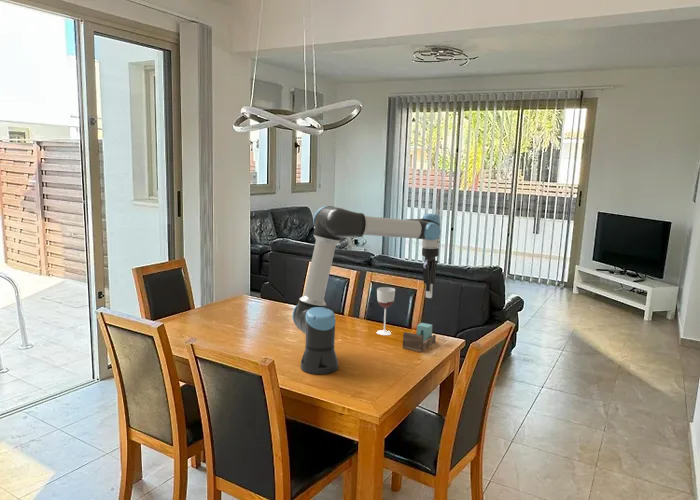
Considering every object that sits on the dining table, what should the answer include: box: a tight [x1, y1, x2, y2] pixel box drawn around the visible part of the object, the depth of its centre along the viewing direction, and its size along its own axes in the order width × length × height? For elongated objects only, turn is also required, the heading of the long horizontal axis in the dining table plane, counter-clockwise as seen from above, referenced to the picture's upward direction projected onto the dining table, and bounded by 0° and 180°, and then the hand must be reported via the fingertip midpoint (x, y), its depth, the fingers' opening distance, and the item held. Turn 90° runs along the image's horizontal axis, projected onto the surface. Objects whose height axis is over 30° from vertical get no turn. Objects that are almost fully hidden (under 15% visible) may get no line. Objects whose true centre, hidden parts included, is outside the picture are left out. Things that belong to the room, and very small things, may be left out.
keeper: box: [416, 322, 433, 341], centre depth 239 cm, size 5×6×7 cm
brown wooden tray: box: [402, 331, 437, 353], centre depth 235 cm, size 17×9×7 cm, turn 148°
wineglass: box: [375, 286, 396, 336], centre depth 251 cm, size 9×10×22 cm
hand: (428, 297), depth 238 cm, fingers closed
